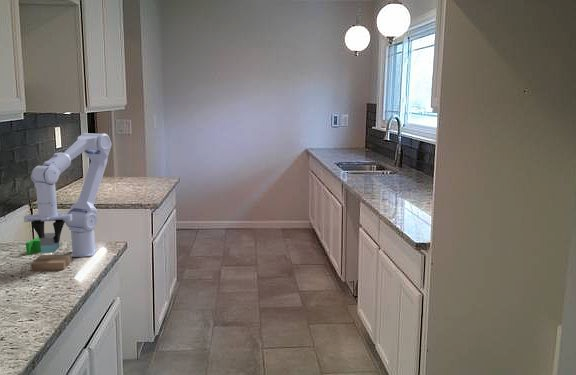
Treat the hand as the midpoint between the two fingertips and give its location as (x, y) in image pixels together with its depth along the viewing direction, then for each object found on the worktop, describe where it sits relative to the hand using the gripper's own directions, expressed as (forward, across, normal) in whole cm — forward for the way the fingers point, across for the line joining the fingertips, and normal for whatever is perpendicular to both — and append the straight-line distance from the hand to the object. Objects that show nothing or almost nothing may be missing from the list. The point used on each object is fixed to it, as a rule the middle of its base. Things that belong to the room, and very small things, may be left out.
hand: (50, 242), depth 175 cm
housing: (+2, 0, 0) cm, 3 cm away
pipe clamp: (+9, -10, +19) cm, 23 cm away
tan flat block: (+8, 0, 0) cm, 8 cm away
